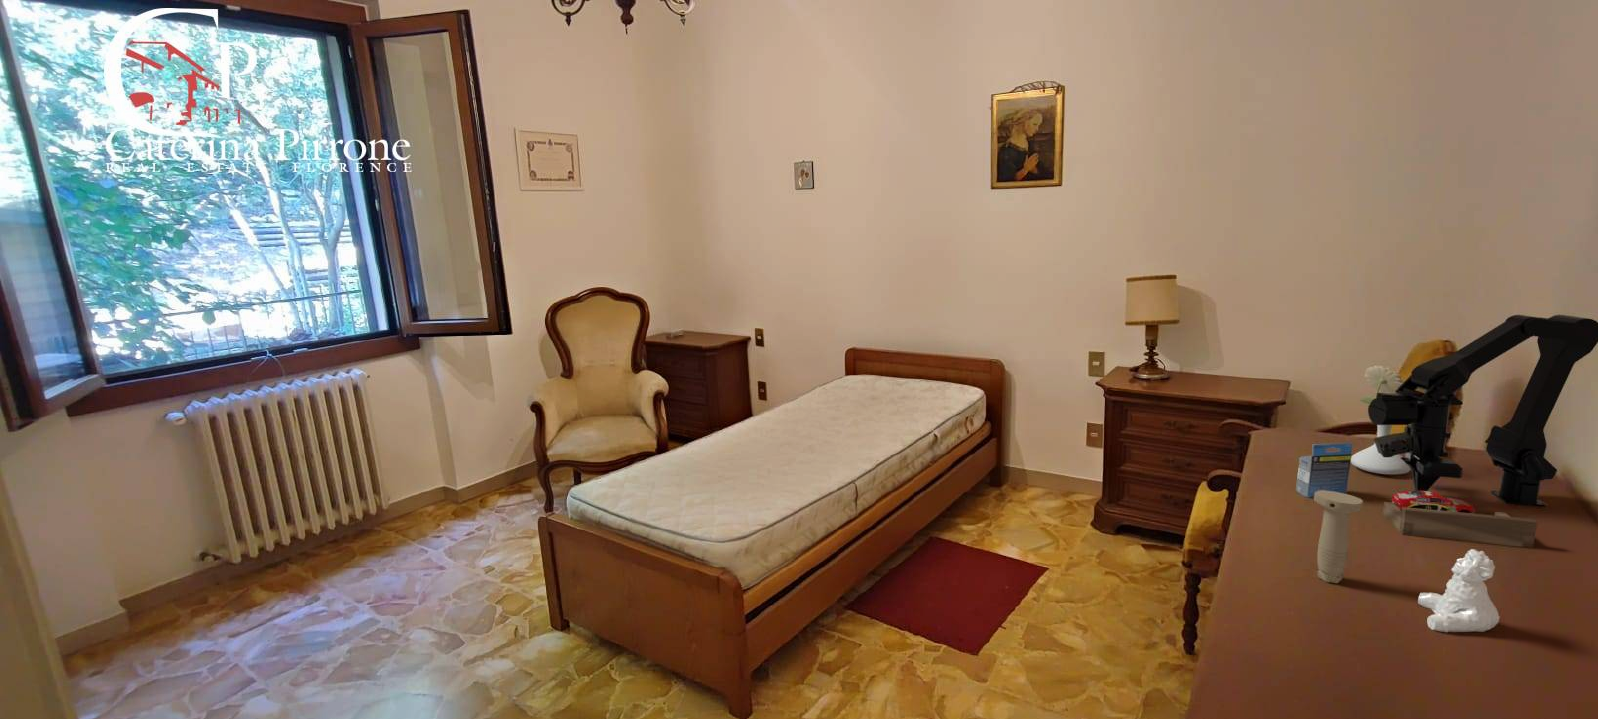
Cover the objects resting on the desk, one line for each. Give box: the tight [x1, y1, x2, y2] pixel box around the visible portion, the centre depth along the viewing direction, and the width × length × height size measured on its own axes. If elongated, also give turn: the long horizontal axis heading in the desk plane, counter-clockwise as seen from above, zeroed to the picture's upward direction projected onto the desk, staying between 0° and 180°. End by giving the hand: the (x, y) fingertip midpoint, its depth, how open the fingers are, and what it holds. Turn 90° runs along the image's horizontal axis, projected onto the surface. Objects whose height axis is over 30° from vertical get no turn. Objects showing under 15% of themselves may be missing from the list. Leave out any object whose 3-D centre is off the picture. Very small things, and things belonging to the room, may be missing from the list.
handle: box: [1313, 490, 1364, 584], centre depth 119 cm, size 5×6×15 cm
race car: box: [1390, 490, 1476, 514], centre depth 145 cm, size 13×5×4 cm, turn 67°
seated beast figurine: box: [1417, 548, 1501, 634], centre depth 106 cm, size 10×9×12 cm
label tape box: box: [1295, 442, 1353, 499], centre depth 155 cm, size 9×4×12 cm, turn 92°
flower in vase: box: [1350, 365, 1411, 476], centre depth 166 cm, size 13×11×25 cm
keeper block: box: [1382, 501, 1538, 549], centre depth 136 cm, size 10×19×5 cm, turn 67°
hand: (1419, 494), depth 151 cm, fingers closed
